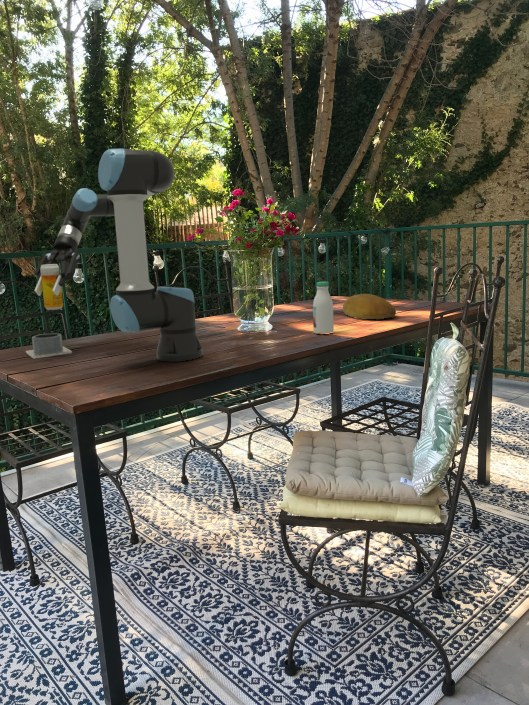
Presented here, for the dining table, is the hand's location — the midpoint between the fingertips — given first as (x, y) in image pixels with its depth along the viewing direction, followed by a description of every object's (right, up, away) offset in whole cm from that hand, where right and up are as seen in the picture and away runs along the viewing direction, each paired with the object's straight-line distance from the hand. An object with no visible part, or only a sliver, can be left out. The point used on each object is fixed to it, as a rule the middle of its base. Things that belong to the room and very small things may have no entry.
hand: (46, 293), depth 194 cm
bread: (+120, -3, +72) cm, 140 cm away
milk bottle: (+96, -13, +30) cm, 101 cm away
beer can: (+1, -5, +5) cm, 7 cm away
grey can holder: (-4, -20, +14) cm, 25 cm away
